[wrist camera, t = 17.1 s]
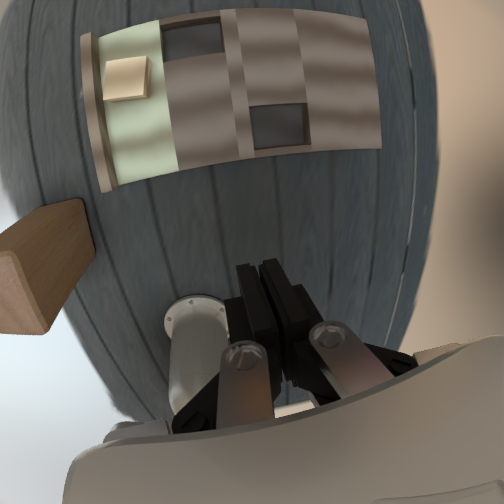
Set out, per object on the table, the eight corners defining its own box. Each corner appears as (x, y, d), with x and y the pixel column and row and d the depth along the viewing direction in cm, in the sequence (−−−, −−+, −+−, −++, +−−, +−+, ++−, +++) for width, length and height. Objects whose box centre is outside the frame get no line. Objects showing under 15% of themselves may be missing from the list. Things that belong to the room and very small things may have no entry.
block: (52, 261, 37) (-5, 336, 20) (36, 206, 33) (-39, 264, 15) (98, 254, 39) (48, 339, 21) (84, 195, 34) (9, 253, 17)
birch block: (149, 98, 28) (143, 94, 25) (113, 102, 27) (102, 100, 24) (152, 63, 26) (146, 55, 22) (115, 67, 25) (106, 61, 22)
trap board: (371, 146, 39) (393, 150, 33) (115, 183, 35) (101, 193, 29) (356, 24, 29) (376, 14, 23) (95, 46, 25) (80, 36, 19)
